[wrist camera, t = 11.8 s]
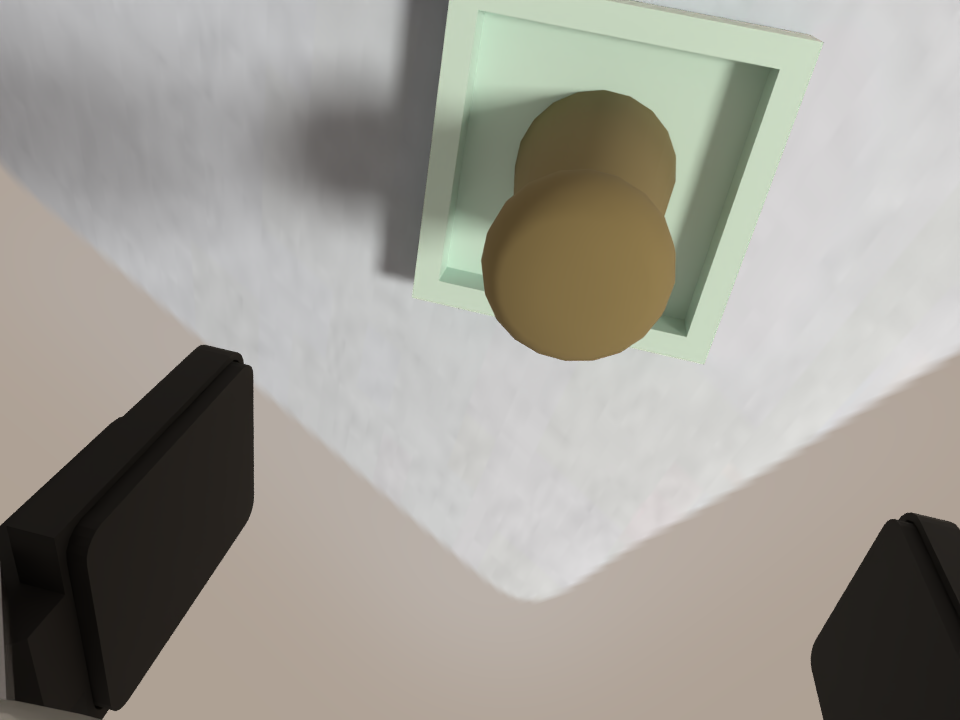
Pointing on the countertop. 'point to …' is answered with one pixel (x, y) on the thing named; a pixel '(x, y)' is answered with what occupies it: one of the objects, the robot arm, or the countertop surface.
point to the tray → (629, 71)
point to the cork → (585, 229)
